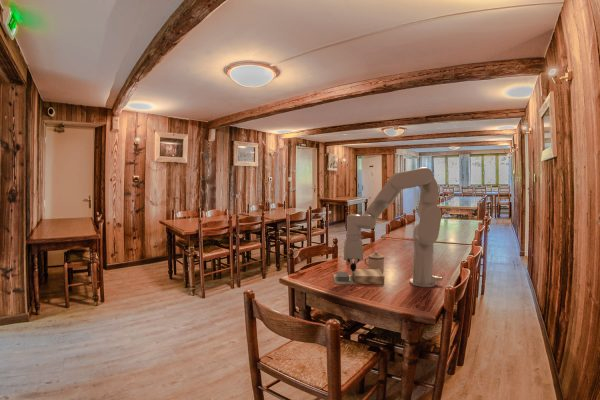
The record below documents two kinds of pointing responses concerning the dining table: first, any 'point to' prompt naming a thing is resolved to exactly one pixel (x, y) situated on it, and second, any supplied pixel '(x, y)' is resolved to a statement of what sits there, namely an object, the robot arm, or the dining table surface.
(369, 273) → the board
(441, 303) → the dining table surface
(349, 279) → the placemat
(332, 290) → the dining table surface
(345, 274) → the coaster
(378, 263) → the teacup with lid
